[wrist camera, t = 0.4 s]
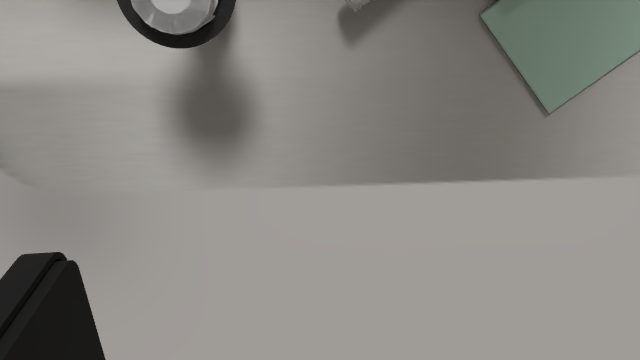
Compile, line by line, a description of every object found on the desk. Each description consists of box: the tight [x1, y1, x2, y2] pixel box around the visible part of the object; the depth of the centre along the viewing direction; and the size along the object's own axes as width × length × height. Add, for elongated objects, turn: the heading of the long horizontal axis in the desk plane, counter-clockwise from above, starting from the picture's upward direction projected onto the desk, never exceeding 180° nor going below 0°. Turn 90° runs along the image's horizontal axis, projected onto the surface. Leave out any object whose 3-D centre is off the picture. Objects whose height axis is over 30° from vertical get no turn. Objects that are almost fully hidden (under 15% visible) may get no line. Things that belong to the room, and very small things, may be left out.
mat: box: [480, 0, 640, 113], centre depth 35 cm, size 8×8×1 cm
